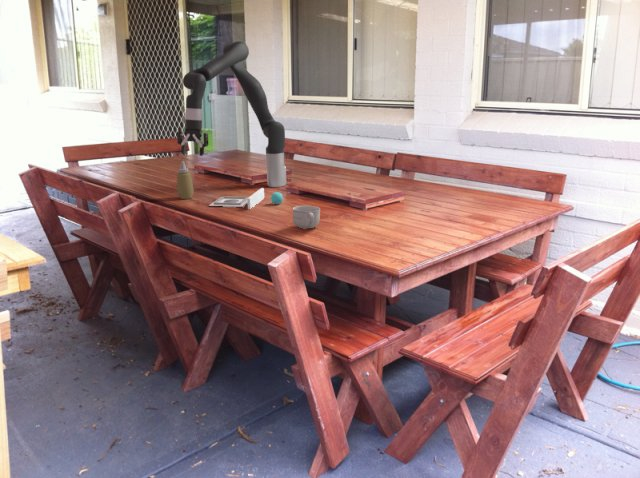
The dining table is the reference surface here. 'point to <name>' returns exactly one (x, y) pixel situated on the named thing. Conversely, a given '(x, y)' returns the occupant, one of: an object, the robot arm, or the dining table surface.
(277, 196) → the teal ball
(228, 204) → the pad
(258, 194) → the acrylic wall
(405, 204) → the dining table surface
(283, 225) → the dining table surface
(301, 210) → the teacup
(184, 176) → the squeeze bottle
